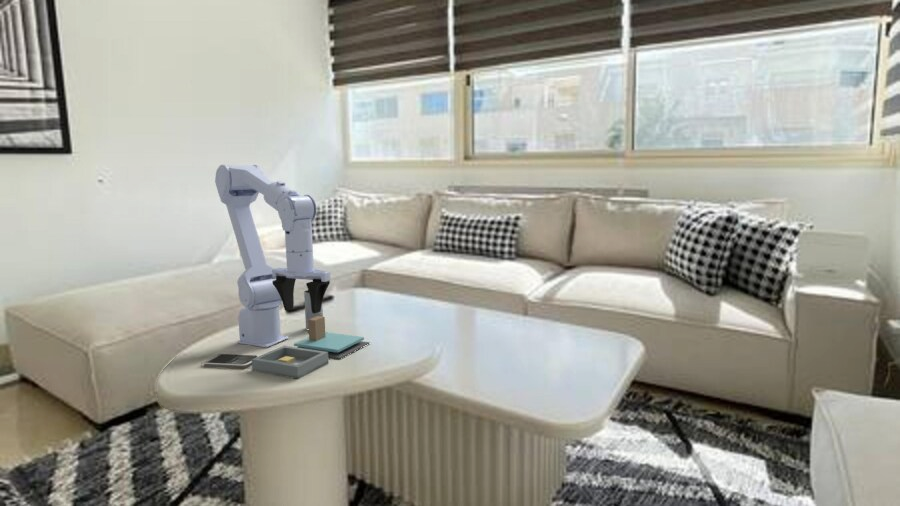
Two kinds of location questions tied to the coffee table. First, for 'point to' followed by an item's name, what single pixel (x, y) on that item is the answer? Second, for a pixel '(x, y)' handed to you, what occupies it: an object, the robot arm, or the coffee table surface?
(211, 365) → the cell phone
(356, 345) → the mat
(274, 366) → the tub
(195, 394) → the coffee table surface
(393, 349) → the coffee table surface
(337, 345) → the lid
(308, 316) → the grey cylinder
